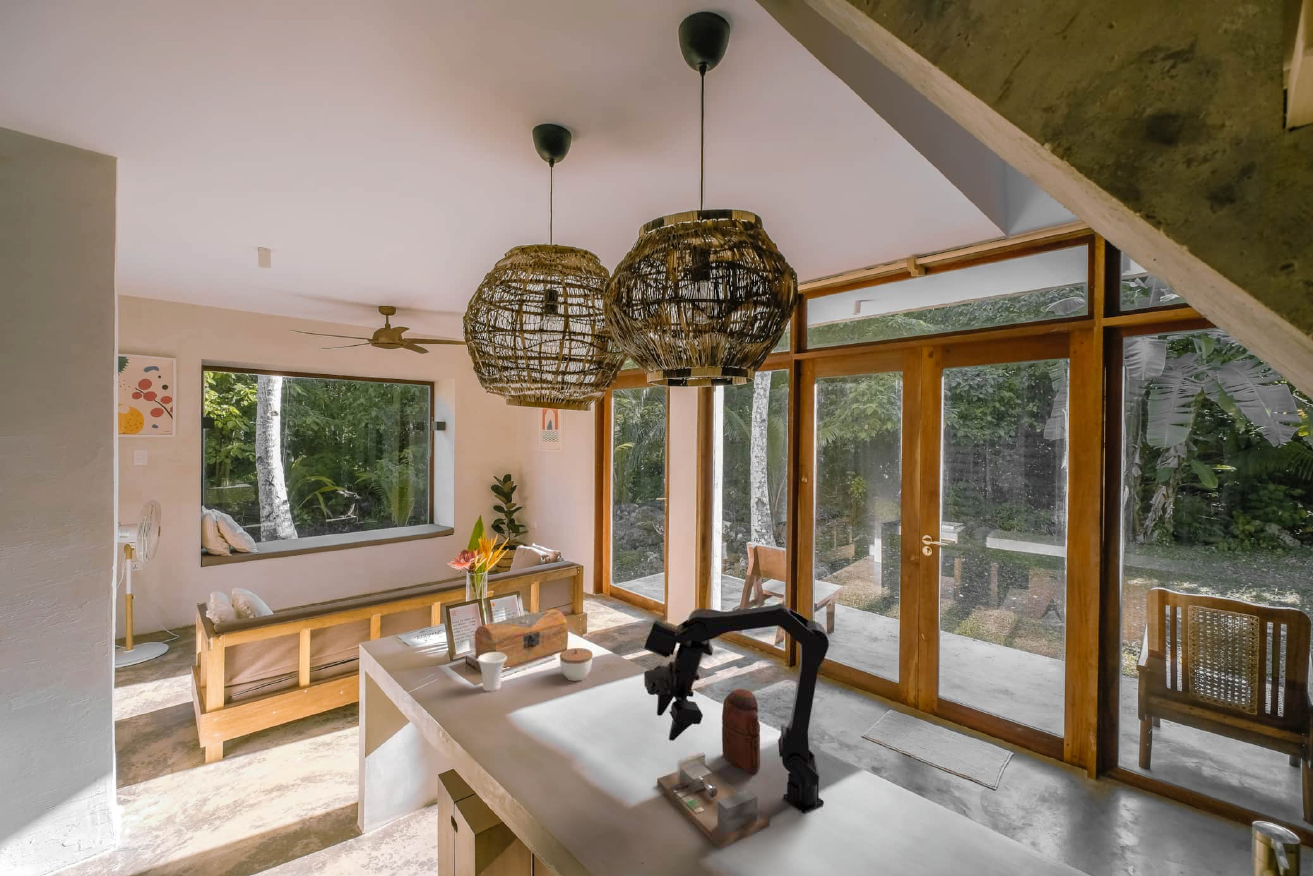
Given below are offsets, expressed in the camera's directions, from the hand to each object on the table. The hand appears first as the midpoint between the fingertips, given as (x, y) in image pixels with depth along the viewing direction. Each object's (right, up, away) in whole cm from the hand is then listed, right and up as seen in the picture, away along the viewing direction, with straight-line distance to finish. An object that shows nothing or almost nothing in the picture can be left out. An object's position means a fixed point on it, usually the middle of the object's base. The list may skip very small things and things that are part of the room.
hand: (664, 727), depth 137 cm
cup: (-54, -13, +52) cm, 76 cm away
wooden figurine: (+19, -14, +11) cm, 26 cm away
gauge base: (+10, -14, -6) cm, 18 cm away
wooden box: (-50, -13, +79) cm, 94 cm away
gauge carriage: (+7, -12, -3) cm, 15 cm away
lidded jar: (-29, -13, +60) cm, 68 cm away
